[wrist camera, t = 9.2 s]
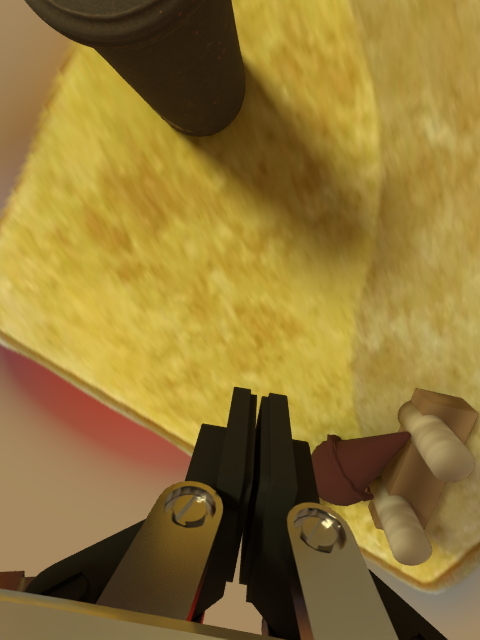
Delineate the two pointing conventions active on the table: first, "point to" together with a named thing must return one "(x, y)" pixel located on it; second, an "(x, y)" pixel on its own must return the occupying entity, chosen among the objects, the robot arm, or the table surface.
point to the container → (163, 53)
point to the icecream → (353, 465)
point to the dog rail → (421, 471)
